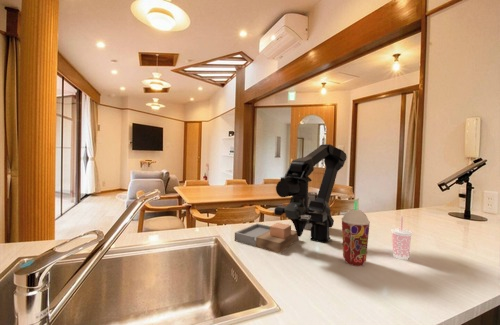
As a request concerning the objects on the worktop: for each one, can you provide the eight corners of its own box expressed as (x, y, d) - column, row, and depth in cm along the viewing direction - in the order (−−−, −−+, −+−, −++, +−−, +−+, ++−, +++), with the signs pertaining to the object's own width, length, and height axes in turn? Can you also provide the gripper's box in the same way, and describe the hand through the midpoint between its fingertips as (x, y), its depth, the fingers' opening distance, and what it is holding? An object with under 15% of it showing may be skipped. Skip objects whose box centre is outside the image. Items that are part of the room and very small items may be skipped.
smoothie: (366, 270, 73) (368, 204, 72) (338, 263, 77) (339, 201, 77) (370, 260, 80) (371, 200, 79) (343, 254, 84) (344, 197, 84)
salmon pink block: (291, 234, 95) (291, 225, 95) (283, 238, 90) (284, 229, 90) (277, 231, 98) (277, 222, 98) (269, 235, 93) (270, 226, 93)
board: (298, 239, 98) (298, 231, 98) (279, 252, 85) (279, 243, 85) (276, 234, 104) (276, 226, 104) (256, 246, 91) (256, 237, 91)
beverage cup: (387, 255, 84) (388, 215, 83) (394, 251, 88) (396, 213, 87) (407, 262, 79) (408, 219, 78) (414, 257, 83) (415, 217, 82)
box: (276, 234, 104) (276, 227, 104) (255, 246, 91) (255, 237, 91) (256, 230, 110) (256, 223, 110) (234, 240, 97) (234, 232, 97)
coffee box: (317, 230, 111) (318, 195, 111) (303, 229, 113) (303, 194, 112) (316, 224, 120) (316, 192, 120) (302, 223, 122) (303, 191, 121)
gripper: (267, 194, 88) (266, 237, 88) (317, 200, 77) (316, 249, 78) (281, 190, 97) (280, 229, 98) (328, 195, 86) (327, 239, 87)
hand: (299, 236), depth 90 cm, fingers closed
